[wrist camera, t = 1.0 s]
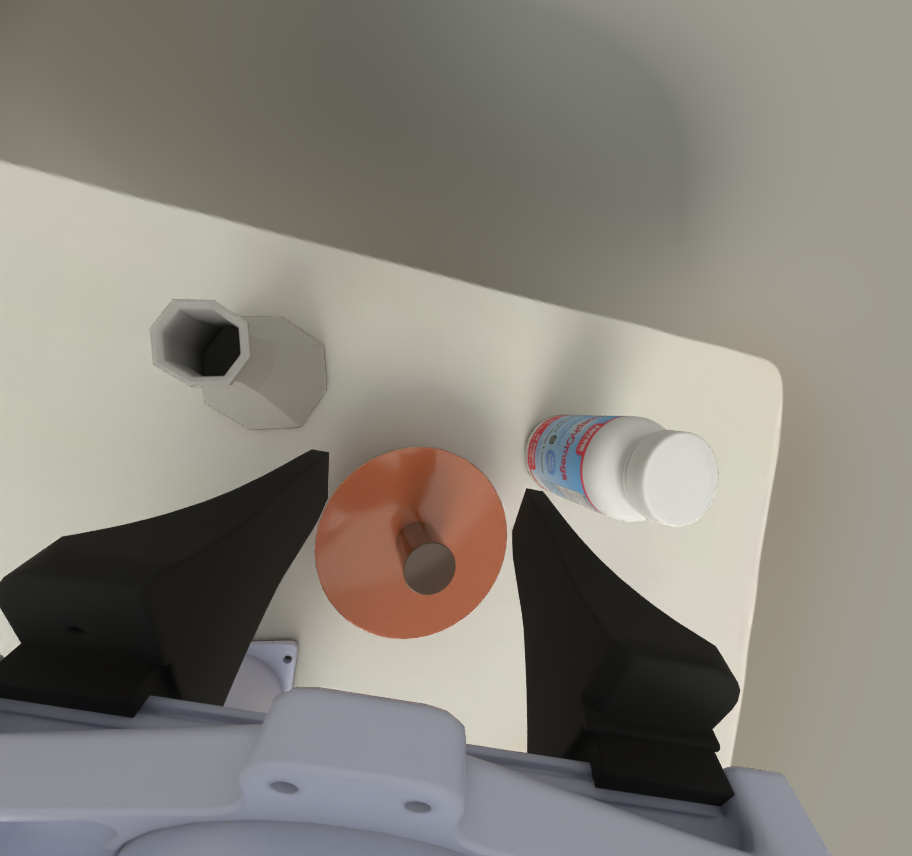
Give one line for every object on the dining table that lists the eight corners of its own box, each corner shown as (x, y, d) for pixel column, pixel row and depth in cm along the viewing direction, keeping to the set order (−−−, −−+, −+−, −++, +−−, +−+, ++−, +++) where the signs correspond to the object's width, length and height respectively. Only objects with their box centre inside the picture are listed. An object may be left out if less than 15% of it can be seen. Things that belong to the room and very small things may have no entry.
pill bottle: (547, 400, 28) (670, 390, 17) (603, 442, 29) (749, 457, 18) (507, 467, 27) (608, 502, 16) (567, 506, 28) (696, 563, 18)
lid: (487, 627, 23) (519, 677, 19) (304, 630, 20) (289, 691, 16) (511, 456, 23) (548, 466, 19) (331, 434, 20) (324, 439, 16)
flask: (341, 336, 24) (332, 282, 14) (312, 443, 23) (281, 464, 14) (219, 297, 22) (109, 203, 12) (185, 414, 21) (45, 413, 12)
